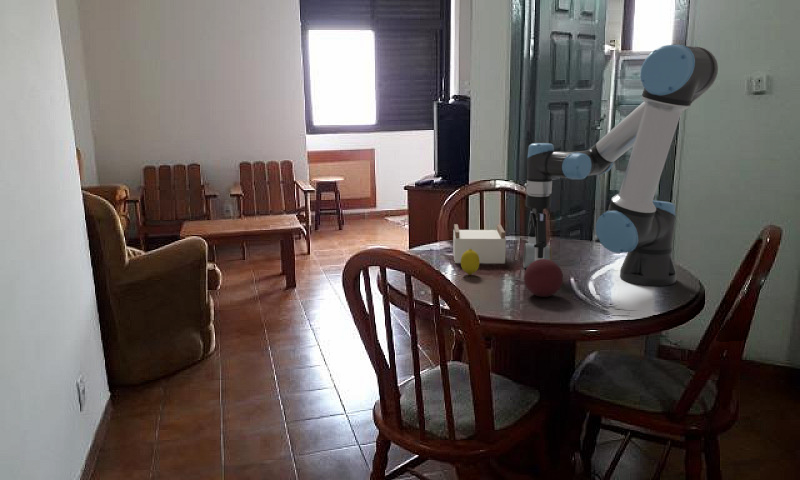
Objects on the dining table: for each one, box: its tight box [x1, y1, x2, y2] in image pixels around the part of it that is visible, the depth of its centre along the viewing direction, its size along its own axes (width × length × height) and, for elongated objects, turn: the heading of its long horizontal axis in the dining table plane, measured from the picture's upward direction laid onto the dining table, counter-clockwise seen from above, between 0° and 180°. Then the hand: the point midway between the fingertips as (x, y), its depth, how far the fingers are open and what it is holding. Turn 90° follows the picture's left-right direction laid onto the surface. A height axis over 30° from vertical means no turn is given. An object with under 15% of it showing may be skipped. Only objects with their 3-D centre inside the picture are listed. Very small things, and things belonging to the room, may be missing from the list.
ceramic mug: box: [522, 242, 553, 269], centre depth 196 cm, size 11×8×8 cm
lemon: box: [460, 249, 481, 276], centre depth 187 cm, size 6×6×8 cm
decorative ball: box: [523, 259, 564, 298], centre depth 166 cm, size 10×10×10 cm
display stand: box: [452, 223, 507, 264], centre depth 207 cm, size 14×16×10 cm
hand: (535, 262), depth 196 cm, fingers open, 13 cm apart
